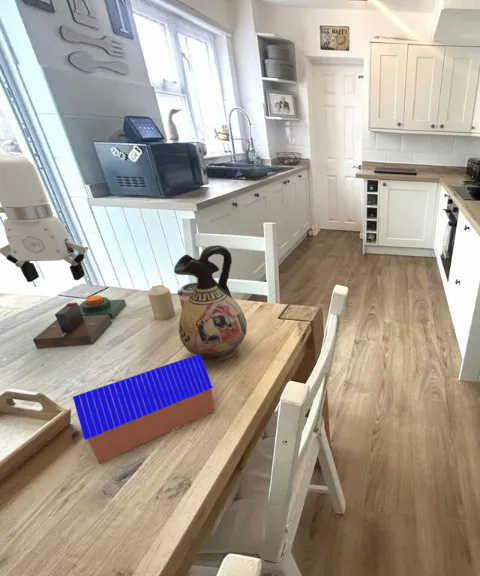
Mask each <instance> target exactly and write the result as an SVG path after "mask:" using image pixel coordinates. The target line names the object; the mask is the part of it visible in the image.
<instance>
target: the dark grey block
mask: <svg viewBox="0 0 480 576" xmlns="http://www.w3.org/2000/svg"><path fill="white" fill-rule="evenodd" d="M54 316H55V318H56V320H57V321H58V323H59V325H60V328H61V330H62V332H71V331H73V330H74V329H75V328H76V327H77V326H78V325H79V324H80V323H81V322H82V321H83V320H84V319H83V316H82V313H81V311H80V308H79V303H78V302H75V301H74V302H68V303H66V305H65V306H64V307H62V308H61V309H59V310H58V311H57V312H56V313H55V314H54Z"/></svg>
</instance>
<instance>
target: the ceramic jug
mask: <svg viewBox="0 0 480 576" xmlns="http://www.w3.org/2000/svg"><path fill="white" fill-rule="evenodd" d="M214 255H220V256H222V257H223V262H222V266H221V267H222V268H221V272H220V275H219V278H218V282H217V281H216V280H215V278H214V276H213V274H215V273H218V272H219V271H220V267H218V266H217V265H216V263H214V262H212V261H210V260H209V258H210V257H212V256H214ZM232 260H233V259H232V253H231V252H230V251H229V249H228V248H226V247H225V246H224V245H219V244H218V245H209V246H208V247H206V248H204V249H203V250H202V251H201V252H200V256H199V258H198V259H196V258H194V257H193V256H191V255H190V254H184V255H183V256H181V257H180V258H179V259H178V261H177V262H176V264H175V265H174V269H173V270H174V271H173V273H174V274H175V275H181V276H192V277H195V278H196V279H197V282H198V284H197V286H196V288H195V290H194V291H193V292H192V294H191V295H190V297H189V299H188V301H187V303H186V304H185V306H184V308H183V311H182V310H181V313H180V318H179V328H178V329H179V330H178V332H179V333H178V334H179V339H180V341H181V343H182V345H183V346H184V347H185V349H186V350H187V351H188V352H190V353H191V354H193V355H197V354H200V356H201V358H202V361H203V362H205V363H218V362H217V361H219V362H222V361H224V360H223V359H225V360H227V359H229V358H231V357H232V356H234V355H235V353H236V352H237V349H238V347H239V346H240V345H241V343H242V342H243V341H244V339H245V337H246V334H247V331H248V325H247V318H246V315H245V313H244V311H243V309H242V307H241V306H240V305H239V303H238V302H237V301H236V300H235V298H234V297H233V296H232V294H231V291H230V288H229V287H228V280H229V278H230V271H231V267H232V263H233V261H232ZM236 348H237V349H236ZM235 351H236V352H235ZM230 356H231V357H230ZM228 357H229V358H228ZM226 358H227V359H226ZM221 360H222V361H221Z"/></svg>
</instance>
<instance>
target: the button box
mask: <svg viewBox="0 0 480 576" xmlns="http://www.w3.org/2000/svg"><path fill="white" fill-rule="evenodd" d="M101 297H102V299H103V302H102V303H100V304H97V305H88V304H87V301H86V300H83V301H81V303H80V304H78V306H79V308H80V311H81V313H82V316H90V315H107V314H109V315H110V318H111V321H112V320H115V319H116V317H117V316H118V315H119V314H120V313H121V312H122V311H123V310H124V309H125V307H126V306H127V303H126V300H125V299H124V298H123V299H109V297H105V296H101Z"/></svg>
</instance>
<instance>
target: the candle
mask: <svg viewBox="0 0 480 576" xmlns="http://www.w3.org/2000/svg"><path fill="white" fill-rule="evenodd" d="M147 296H148V300H149V303H150V306H151V311H152V314H153V318H154V319H156V320H158V321H162V320H168V319H171V318H173V317H174V316H176V310H175V307H174V303H173V302H174V301H173V298H172V295H171V289H170V288H169V287H167V286H165V285H164V284H157V285H153V286H151V288H150V289H149V290H148V291H147Z"/></svg>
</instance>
